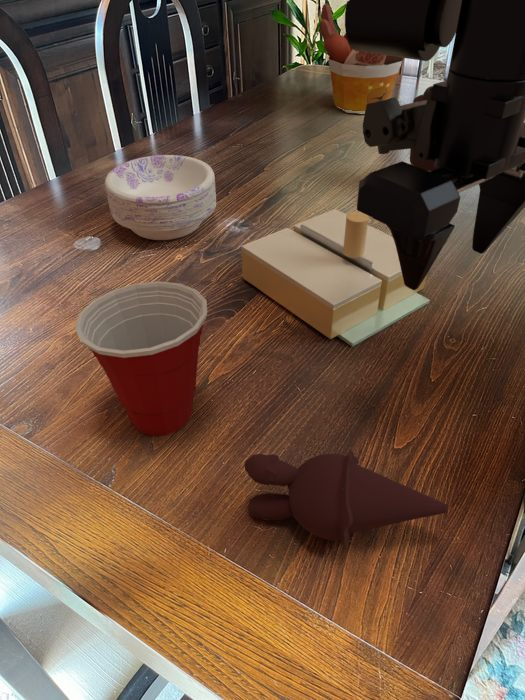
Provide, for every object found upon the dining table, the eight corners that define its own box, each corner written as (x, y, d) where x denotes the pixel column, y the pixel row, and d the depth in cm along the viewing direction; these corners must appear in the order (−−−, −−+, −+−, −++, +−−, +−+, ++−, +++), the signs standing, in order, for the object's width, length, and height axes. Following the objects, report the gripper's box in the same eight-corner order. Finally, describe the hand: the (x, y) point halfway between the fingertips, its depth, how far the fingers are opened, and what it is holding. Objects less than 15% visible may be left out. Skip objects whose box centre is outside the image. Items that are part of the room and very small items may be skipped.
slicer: (374, 300, 66) (385, 223, 59) (360, 307, 64) (370, 230, 58) (306, 260, 73) (310, 187, 66) (292, 266, 72) (295, 192, 65)
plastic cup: (177, 359, 59) (163, 261, 51) (240, 417, 52) (234, 314, 44) (82, 407, 53) (50, 305, 46) (139, 477, 47) (112, 372, 39)
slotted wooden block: (436, 299, 67) (445, 262, 63) (343, 352, 59) (347, 313, 56) (322, 237, 79) (324, 203, 76) (233, 274, 71) (231, 239, 68)
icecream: (448, 438, 42) (254, 422, 45) (457, 503, 35) (230, 479, 38) (440, 511, 44) (258, 491, 48) (447, 583, 38) (236, 554, 41)
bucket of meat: (404, 99, 129) (419, -1, 116) (401, 121, 117) (416, 12, 104) (320, 94, 133) (325, -3, 120) (307, 115, 121) (311, 9, 108)
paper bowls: (157, 263, 74) (149, 208, 69) (93, 227, 82) (82, 175, 77) (239, 224, 82) (237, 172, 77) (174, 194, 90) (168, 146, 85)
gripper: (474, 33, 47) (438, 206, 57) (310, 70, 38) (302, 266, 48) (605, 57, 40) (538, 248, 50) (443, 108, 31) (401, 327, 41)
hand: (445, 268), depth 48 cm, fingers open, 9 cm apart
